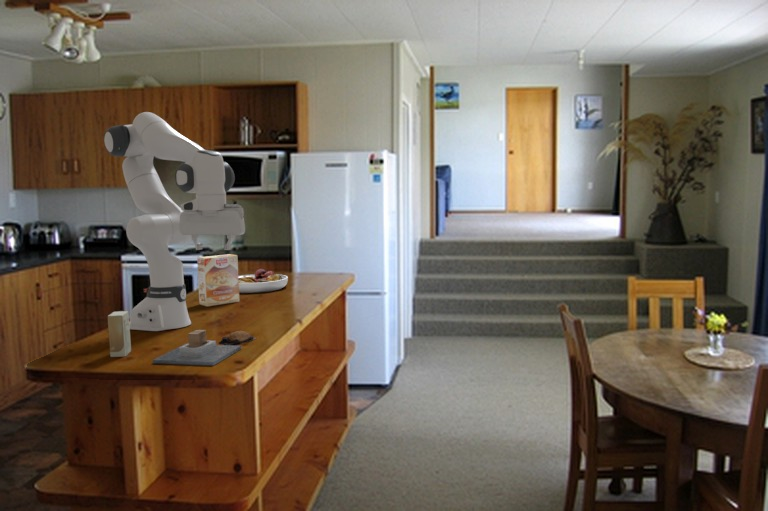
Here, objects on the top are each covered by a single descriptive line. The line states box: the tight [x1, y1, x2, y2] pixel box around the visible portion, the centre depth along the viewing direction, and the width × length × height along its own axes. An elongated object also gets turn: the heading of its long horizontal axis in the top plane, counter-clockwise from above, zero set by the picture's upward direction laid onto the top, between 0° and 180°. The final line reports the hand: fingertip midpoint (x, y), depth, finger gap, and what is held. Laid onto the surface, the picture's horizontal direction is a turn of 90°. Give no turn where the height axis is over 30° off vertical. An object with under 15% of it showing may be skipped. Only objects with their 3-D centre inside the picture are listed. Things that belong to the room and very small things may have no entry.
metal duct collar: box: [152, 339, 242, 367], centre depth 191 cm, size 18×18×4 cm
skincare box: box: [107, 310, 132, 358], centre depth 194 cm, size 6×4×12 cm
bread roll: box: [218, 330, 257, 346], centre depth 208 cm, size 11×8×4 cm
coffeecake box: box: [196, 253, 240, 307], centre depth 274 cm, size 15×7×20 cm, turn 131°
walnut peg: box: [187, 329, 207, 347], centre depth 190 cm, size 5×3×6 cm, turn 168°
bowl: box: [238, 268, 289, 294], centre depth 311 cm, size 30×30×8 cm
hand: (213, 249), depth 204 cm, fingers open, 8 cm apart
